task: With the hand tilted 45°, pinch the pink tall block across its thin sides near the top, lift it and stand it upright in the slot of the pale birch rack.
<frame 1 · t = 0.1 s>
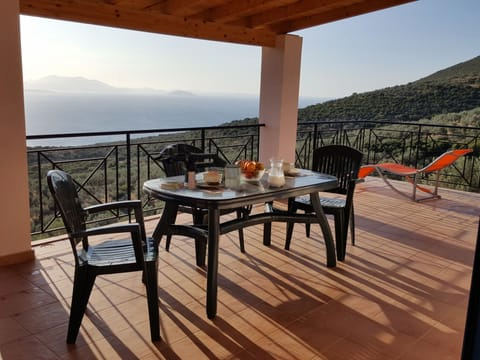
hand: (155, 159, 287), 17 cm above the table, tool horizontal, fingers open, 9 cm apart
rack: (172, 187, 283), on the table
coffee can: (232, 186, 290), on the table
pink tall block: (191, 187, 283), on the table
food container: (218, 182, 302), on the table
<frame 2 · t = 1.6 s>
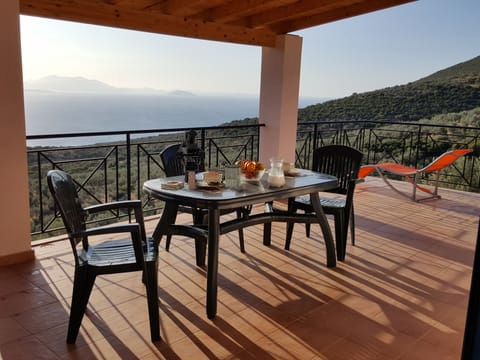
hand: (191, 165, 286), 14 cm above the table, tool tilted 45°, fingers open, 9 cm apart
nothing on the table moved.
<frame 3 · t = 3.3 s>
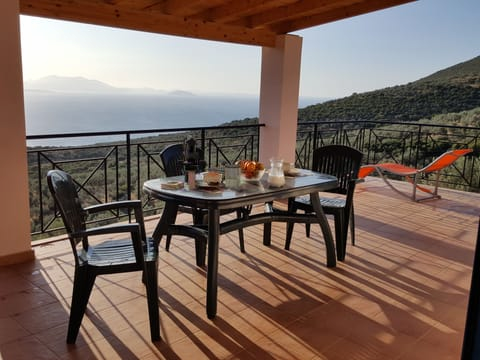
hand: (191, 174, 281), 8 cm above the table, tool tilted 45°, fingers open, 9 cm apart
nothing on the table moved.
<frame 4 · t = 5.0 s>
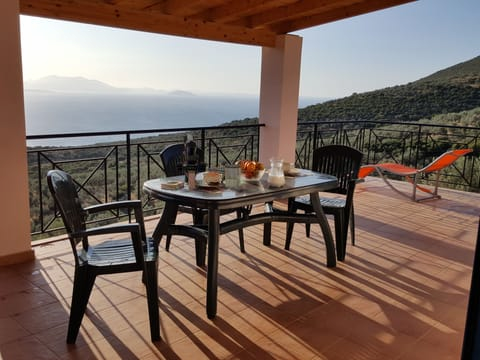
hand: (191, 177, 280), 7 cm above the table, tool tilted 45°, fingers closed on pink tall block, 4 cm apart
pink tall block: (191, 187, 283), on the table, touching gripper
everything else where it was.
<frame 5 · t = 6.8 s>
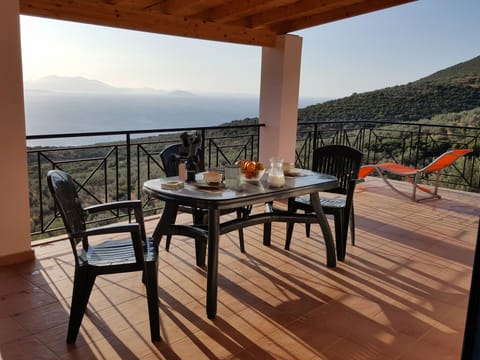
hand: (182, 169, 278), 13 cm above the table, tool tilted 45°, fingers closed on pink tall block, 4 cm apart
pink tall block: (183, 179, 281), point 5 cm above the table, touching gripper
everything else where it was.
when the fingers open (8 cm above the table, at t = 9.0 s): pink tall block drops 1 cm, resting in rack.
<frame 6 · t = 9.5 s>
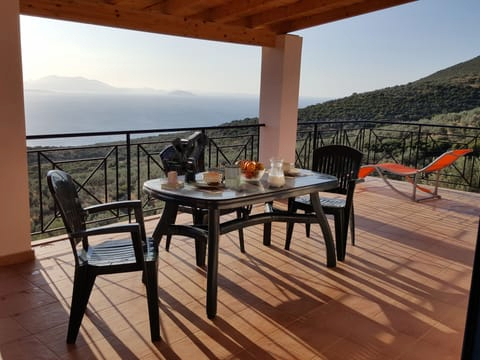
hand: (171, 174, 280), 9 cm above the table, tool tilted 45°, fingers open, 9 cm apart
pink tall block: (172, 187, 283), resting in rack
everything else where it was.
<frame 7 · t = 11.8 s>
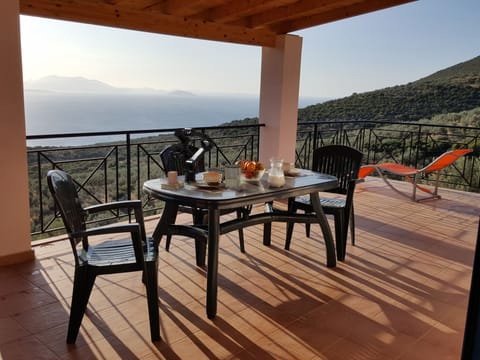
hand: (176, 165, 287), 13 cm above the table, tool tilted 35°, fingers open, 9 cm apart
nothing on the table moved.
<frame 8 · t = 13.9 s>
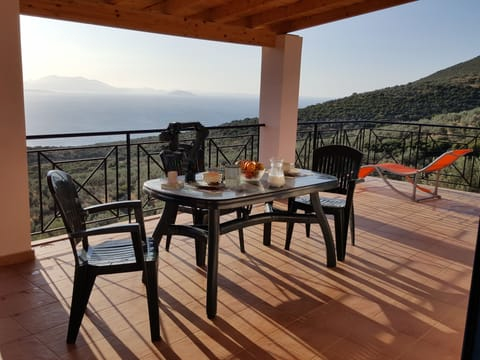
hand: (174, 164, 292), 13 cm above the table, tool pointing down, fingers open, 9 cm apart
nothing on the table moved.
at the end: pink tall block 0.0 cm off-centre on the rack, point 0.0 cm above the rack's base; pink tall block tilted 0°; the gripper is holding nothing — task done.
